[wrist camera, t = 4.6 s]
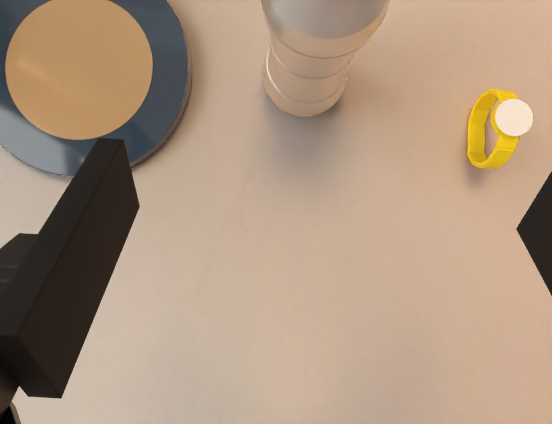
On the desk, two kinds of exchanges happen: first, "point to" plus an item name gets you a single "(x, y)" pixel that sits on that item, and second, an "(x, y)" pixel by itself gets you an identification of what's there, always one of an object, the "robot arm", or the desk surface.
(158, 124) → the plate
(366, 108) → the desk surface
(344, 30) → the silver metal bottle
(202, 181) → the desk surface
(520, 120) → the watch
